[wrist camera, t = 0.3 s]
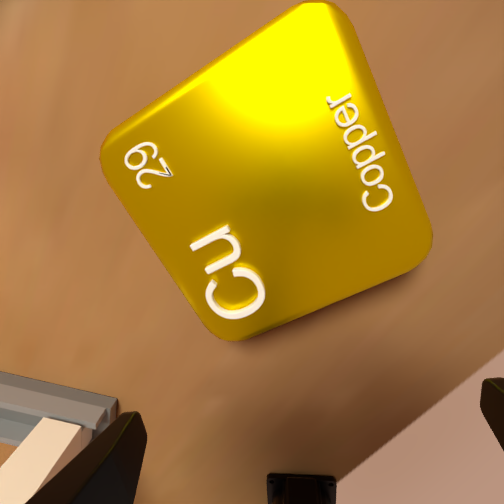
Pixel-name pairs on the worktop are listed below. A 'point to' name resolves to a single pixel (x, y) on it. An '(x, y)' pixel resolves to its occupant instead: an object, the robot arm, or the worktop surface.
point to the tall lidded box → (40, 458)
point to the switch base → (49, 407)
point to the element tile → (272, 177)
